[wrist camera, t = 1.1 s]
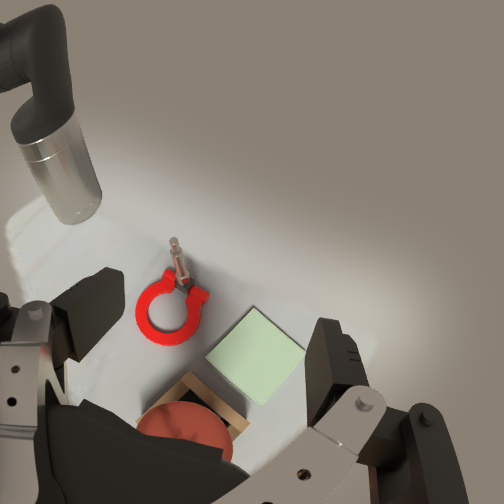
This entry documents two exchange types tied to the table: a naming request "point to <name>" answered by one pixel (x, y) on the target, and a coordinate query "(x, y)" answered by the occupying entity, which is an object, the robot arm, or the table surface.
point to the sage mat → (256, 356)
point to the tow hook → (166, 286)
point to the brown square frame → (210, 398)
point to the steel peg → (187, 425)
